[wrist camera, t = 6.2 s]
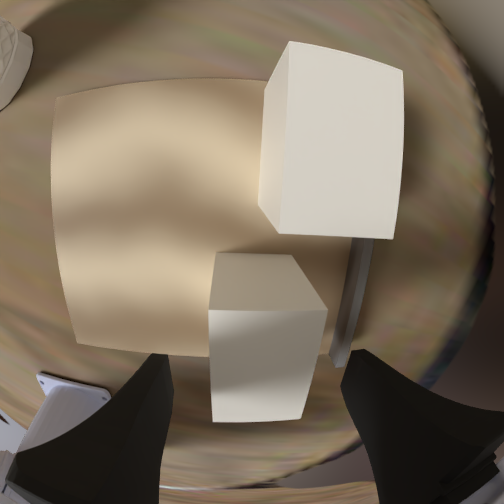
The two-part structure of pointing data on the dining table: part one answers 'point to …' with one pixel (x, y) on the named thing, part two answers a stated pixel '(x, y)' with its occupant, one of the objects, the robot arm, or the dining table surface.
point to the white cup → (13, 60)
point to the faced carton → (331, 144)
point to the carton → (262, 337)
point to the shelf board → (175, 214)
